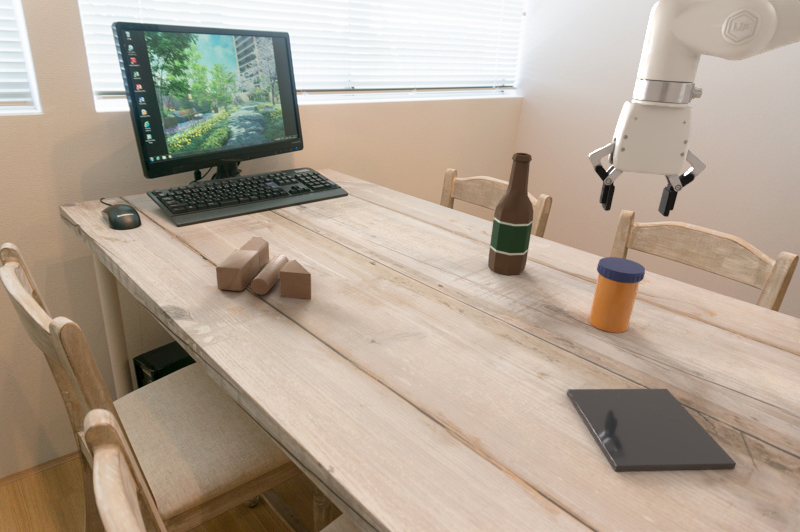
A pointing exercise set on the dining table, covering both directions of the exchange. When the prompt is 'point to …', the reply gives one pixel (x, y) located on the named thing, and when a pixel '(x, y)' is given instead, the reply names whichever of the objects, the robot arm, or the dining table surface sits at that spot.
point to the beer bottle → (512, 222)
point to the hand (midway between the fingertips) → (634, 210)
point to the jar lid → (621, 269)
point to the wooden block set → (247, 265)
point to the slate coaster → (647, 430)
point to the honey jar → (612, 304)
